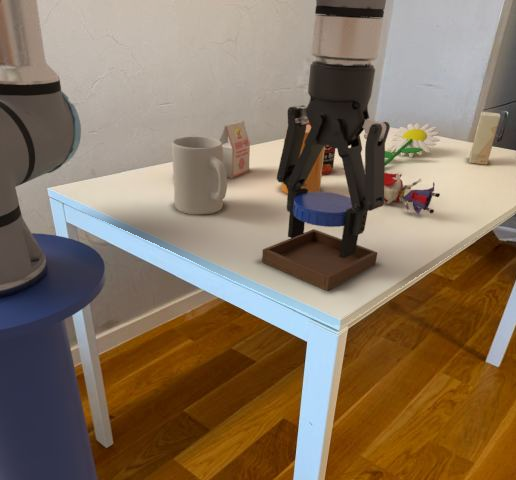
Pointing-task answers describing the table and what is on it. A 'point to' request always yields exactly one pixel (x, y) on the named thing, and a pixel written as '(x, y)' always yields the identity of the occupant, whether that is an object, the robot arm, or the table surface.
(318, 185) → the honey jar
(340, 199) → the jar lid
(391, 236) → the table surface
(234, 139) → the gable top carton
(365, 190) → the robot arm
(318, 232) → the tray
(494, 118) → the box
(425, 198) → the figurine
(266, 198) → the table surface
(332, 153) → the canned food
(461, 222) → the table surface
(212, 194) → the mug
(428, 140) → the decorative flower
